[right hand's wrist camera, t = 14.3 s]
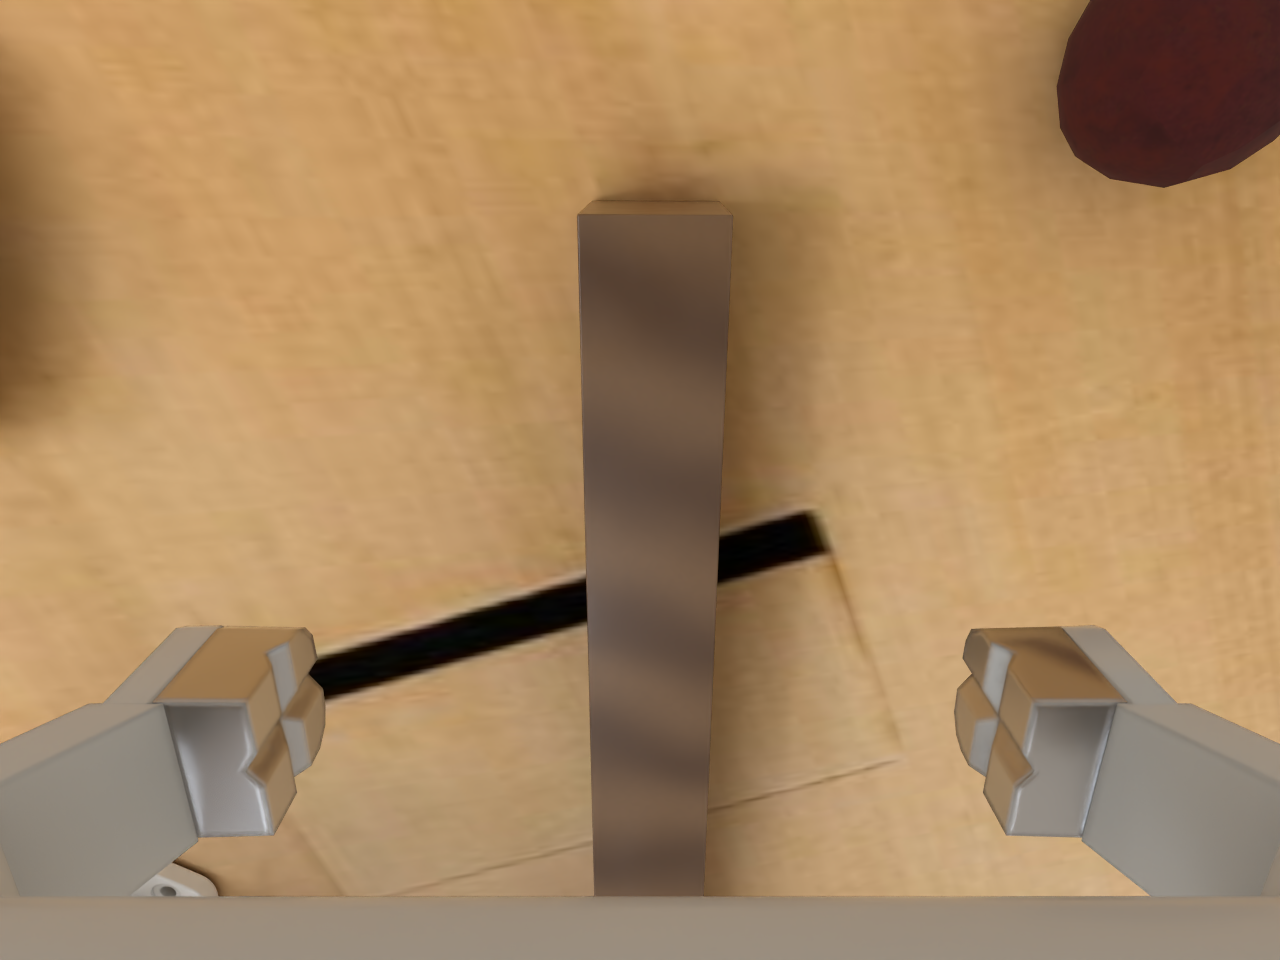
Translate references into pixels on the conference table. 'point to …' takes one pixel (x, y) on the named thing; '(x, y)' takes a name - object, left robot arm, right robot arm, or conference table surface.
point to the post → (652, 528)
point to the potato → (1171, 87)
